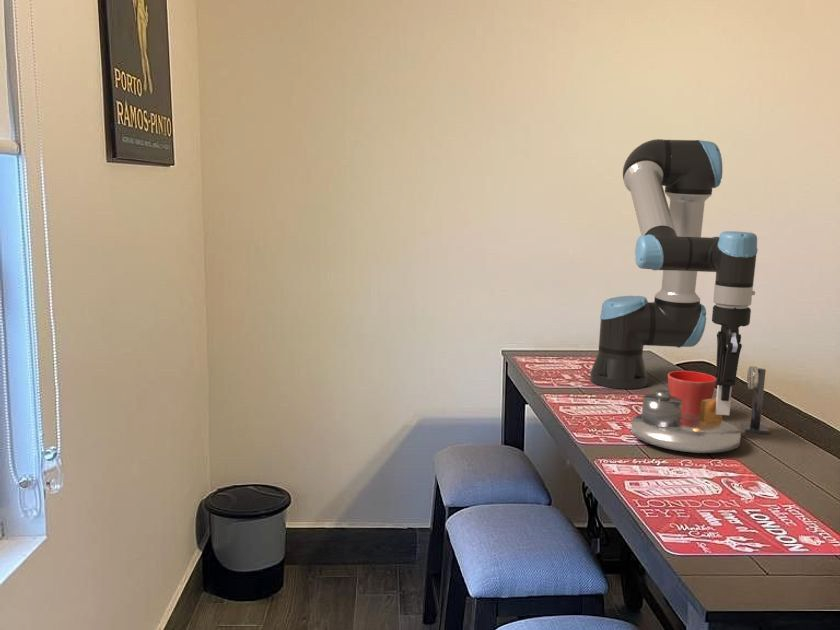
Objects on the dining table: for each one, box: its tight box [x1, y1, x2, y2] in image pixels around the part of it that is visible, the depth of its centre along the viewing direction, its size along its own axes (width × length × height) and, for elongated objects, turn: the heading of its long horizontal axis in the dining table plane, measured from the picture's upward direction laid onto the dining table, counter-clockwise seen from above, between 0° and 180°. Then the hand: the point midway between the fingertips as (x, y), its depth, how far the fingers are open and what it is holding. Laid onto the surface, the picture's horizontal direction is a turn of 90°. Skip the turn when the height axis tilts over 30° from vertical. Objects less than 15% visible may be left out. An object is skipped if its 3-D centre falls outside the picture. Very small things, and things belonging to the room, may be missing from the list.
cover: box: [641, 389, 682, 427], centre depth 179 cm, size 8×8×6 cm
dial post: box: [740, 365, 770, 436], centre depth 185 cm, size 5×5×14 cm
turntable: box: [630, 397, 742, 454], centre depth 176 cm, size 22×22×7 cm
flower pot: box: [667, 370, 718, 415], centre depth 195 cm, size 11×11×10 cm
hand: (722, 413), depth 179 cm, fingers closed
